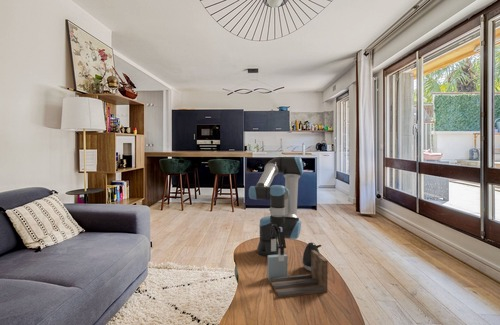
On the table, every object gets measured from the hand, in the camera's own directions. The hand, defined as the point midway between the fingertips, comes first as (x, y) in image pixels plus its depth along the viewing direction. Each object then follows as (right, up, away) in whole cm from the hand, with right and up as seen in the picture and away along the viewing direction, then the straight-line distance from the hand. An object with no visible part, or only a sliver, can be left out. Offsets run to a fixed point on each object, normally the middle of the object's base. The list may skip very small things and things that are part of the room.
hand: (277, 255), depth 138 cm
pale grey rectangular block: (0, -12, +1) cm, 12 cm away
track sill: (+9, -12, -9) cm, 18 cm away
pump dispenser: (+21, -12, +11) cm, 26 cm away
